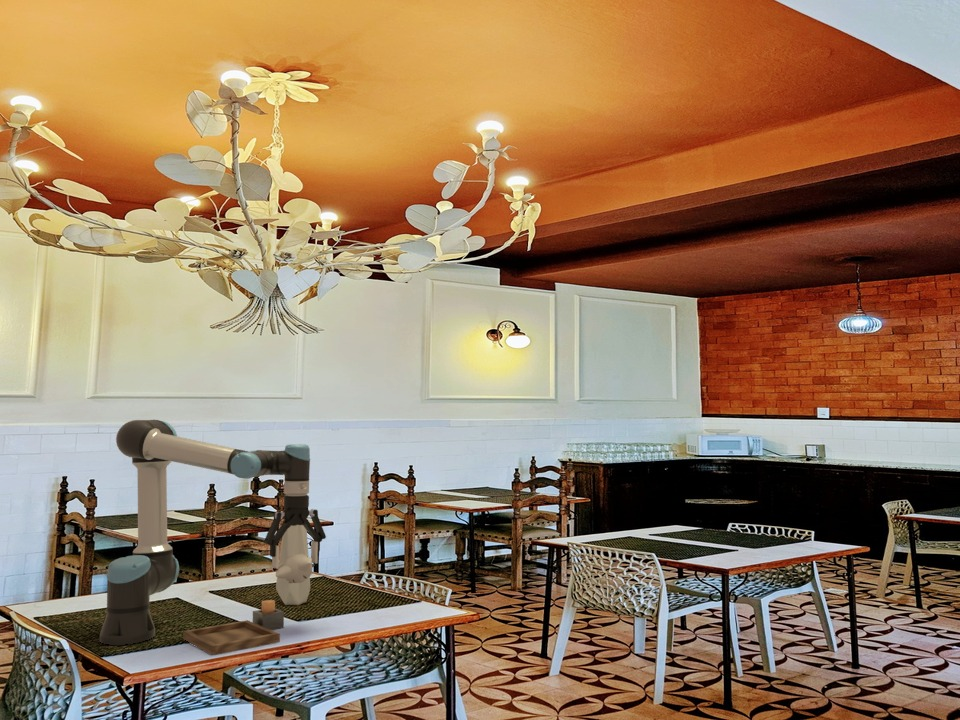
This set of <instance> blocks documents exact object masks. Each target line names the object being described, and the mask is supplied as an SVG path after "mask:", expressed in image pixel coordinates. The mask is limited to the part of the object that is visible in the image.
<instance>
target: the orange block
mask: <svg viewBox="0 0 960 720" xmlns="http://www.w3.org/2000/svg"><path fill="white" fill-rule="evenodd" d="M275 608H276V601H275V600H274V599H268V600H262V601H261V610H262V613H264V614H266V613H272V612H275Z"/></svg>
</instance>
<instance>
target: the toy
mask: <svg viewBox="0 0 960 720" xmlns="http://www.w3.org/2000/svg"><path fill="white" fill-rule="evenodd" d="M281 566H282V567H281ZM314 567H315V563H312V558H311V557H309V556H308V557H307V556H306V555H304V554H293V555H290V556H289V557H288V558H287V559H286V560H285V561H284V563H282V564H280V565H279V569H278V568H275V569H276V572H275V577H276V578H277V577H278V578H285V579H286V580H287V581H289V583H301V582H303V581H305V580H306V579H307V578H308V577H309V576H310V577H311V575H313V568H314Z"/></svg>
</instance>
